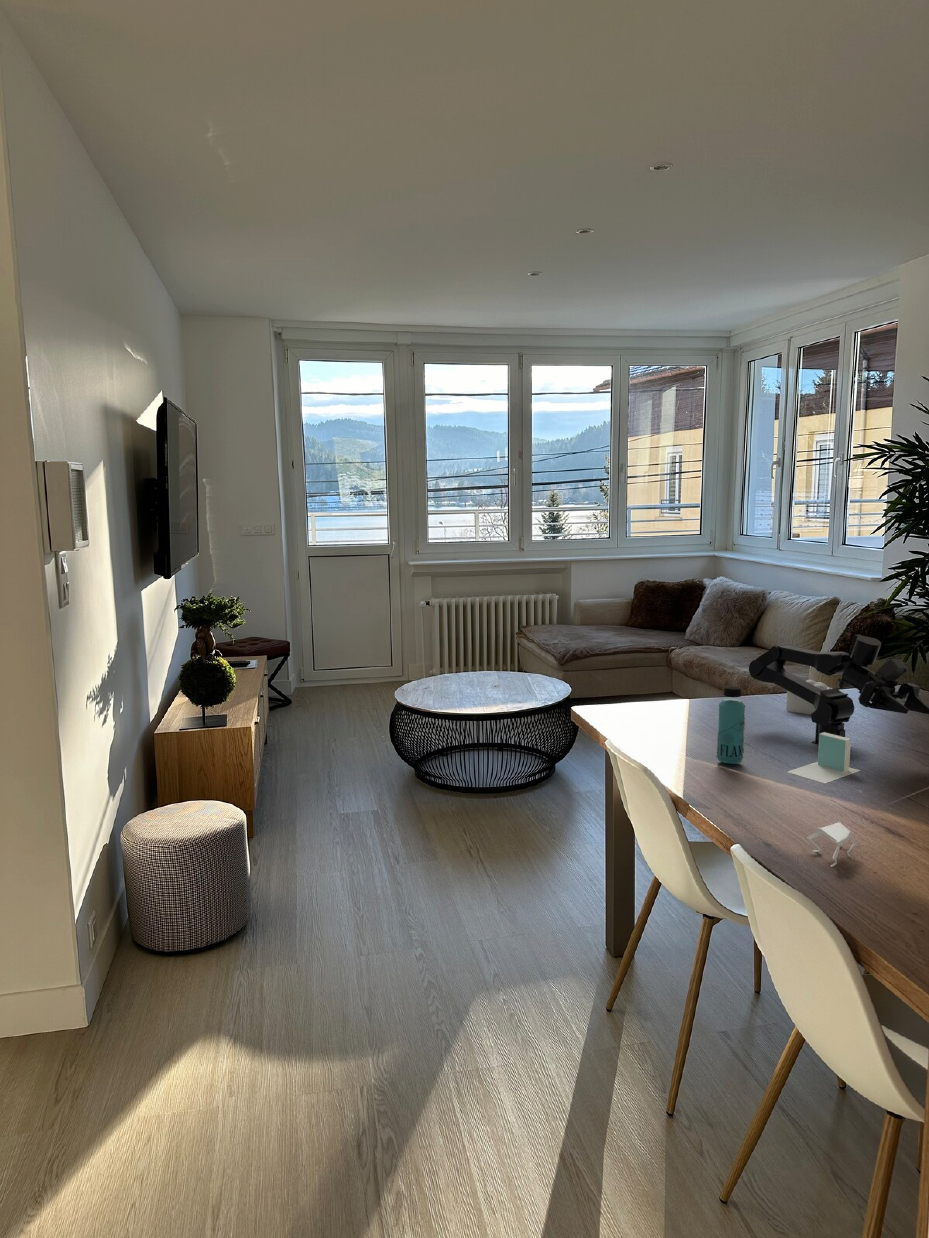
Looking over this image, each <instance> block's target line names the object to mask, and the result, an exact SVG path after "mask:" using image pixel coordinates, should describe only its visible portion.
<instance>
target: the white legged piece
mask: <svg viewBox="0 0 929 1238" xmlns="http://www.w3.org/2000/svg"><path fill="white" fill-rule="evenodd" d="M816 828H817V829H816V830H817V831H815V832H814V833H812V834H810V835H808V836H806V839H808V840H809V841H810V842H811V843H812V844H813V845H814V846H815V847H816V848H817V849H813V850H812V852H813V853H819V852H823V849H822V848H821V847H820V846H819V845H818V844H817V843H816V841H814V839H816V838H819V837H821V836H823V835H824V836H825V837H827V838H828V839H829V840H831V841H832V842H833V843H834V844H836V845H837V846H836V848H835V850H834V853H833V855H832V859H833V861H834V863H832V864H831V865H830V867H831V868H834V867H835V866H836V865H837V864H838V861H837V857H838V854H839V851H840V848H843V846H842V845H844V844H846V843H847V842H848V841H849V840H850V839H852V840H853V843H852V844H851V846H850V847H849V849H848V850H847V852H846V853H847V856H848V857H849V858H850V857H851V855H850V852H851V850H852V849H853V848H854V846H855V845H856V844H857V843H858V842H857V841H856V839H855V837H854V836H853V833H852V831H851V830H850V829H848V827H846V826H845V825H843V824H842V823H841V821H838V822H835V823H832V824H829V825H825V826H822V827H816Z"/></svg>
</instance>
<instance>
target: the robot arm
mask: <svg viewBox="0 0 929 1238" xmlns="http://www.w3.org/2000/svg"><path fill="white" fill-rule="evenodd" d="M881 646H882V642H881V641H880V640H879V639H877V638H876V637H869V636H865V635H862V634H860V633H859V634H854V635H853V637H852V642H851V645H850V646H849V647H850V648H849V650H848V652H845V651H825V652H824V651H816V650H812V649H806V648H802V647H798V646H797V647H796V646H792V645H788V644H786V643H784V644H775V645H773V646H772V647H771V648H769V650H767V651H765V652H764V653H763V654H761V655H760V656H758V657H756V659H753V660H752V661H751V662H750V663H749V665H748V672H749V675H750V677H751V678H752V679H753V680H756V681H759V682H762V683H768V684H774V685H776V686H778V687H780V688H781V689H784V690H785V691H786V692H787V691H789V692H791V693H792V694H794V695H796V696H798V697H800V698H801V699H803V700H805V701H807V702H809V703H811V704H812V705H813V706H814V708H815V711H814V712H813V713H812V714H810V718H811V721H812V723H815V736H814V737H815V738H814V740H812V741H811V744H813V745H817V746H819V734H820V733H823V732H825V733H829V734H833V735H837V736H841V737H845V738H846V729H845V723H848V722H849V721H850V719H851V716H853V714H854V712H855V704H854V701H853V699H852V698H851V697H849V693H844V692H842V691H841V690H839V688H840V689H846V688H850V687H853V688H855V689H856V690H858V693H859V696H858V702H859V703H858V704H859V705H861V706H863V707H864V708H870V709H874V710H879V711H881V710H882V711H885V712H886V711H887V712H893V713H899V714H908V713H909V711H910V712H916V713H919V714H920V713H921V714H925V715H929V706H928V705H927V704H926V703H925V702H924V700H923V699H922V698H921V697H920V695H919V694H920V692H921V686H919V685H917V684H915V683H909V682H905V683H901V684H900V685H899V688H898V690H896V687H897V685H898V684H899V681H898V679H899V678H900V677H901V676H903V674H905V673H906V672H907V671H908V667H907V663H906V662H903V661H902V660H900V659H898V658H897V659H896V658H889V659H888V660H886V661H885V662H884V663H883V664H882V665H881V666H880V667H879V668H878V669H877V671H876V672H874V671H872V670H870V669H868V668H867V667H869V666H872V665H874V664H875V663H876V659H877V657H878V654H879V651H880V649H881ZM787 662H791V663H795V664H800V665H804V666H808V667H812V668H814V669H815V671H817V672H819V673H821V674H823V675H826V676H836V675H841V677H840V678H837V680H838V687H839V688H838V689H837V688H832V689H828V690H821V689H819V688H817V687H815V686H814V685H812V684H810V683H808V682H806V681H807V680H804V679H802V678H800V677H798V676H796V675H794V674H792V673H791V672H788V671H787V670H786V669H785V665H786V663H787Z"/></svg>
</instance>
